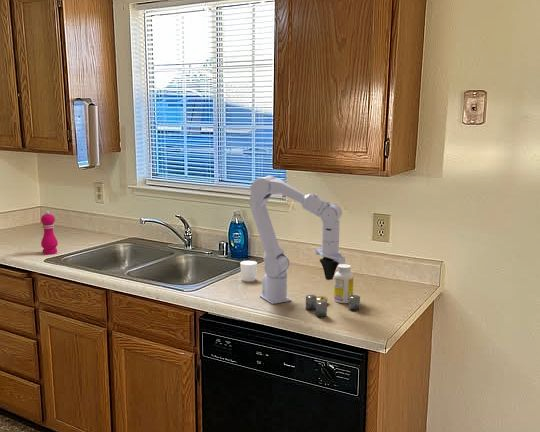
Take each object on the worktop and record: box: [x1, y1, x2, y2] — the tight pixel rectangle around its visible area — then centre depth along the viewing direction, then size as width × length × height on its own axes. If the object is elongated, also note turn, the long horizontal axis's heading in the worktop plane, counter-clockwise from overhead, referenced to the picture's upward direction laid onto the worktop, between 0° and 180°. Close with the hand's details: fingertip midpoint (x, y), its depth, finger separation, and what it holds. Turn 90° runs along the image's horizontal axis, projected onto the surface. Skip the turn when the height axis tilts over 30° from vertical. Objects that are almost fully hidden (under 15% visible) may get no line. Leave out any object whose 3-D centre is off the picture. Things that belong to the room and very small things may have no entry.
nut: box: [316, 295, 328, 303], centre depth 193 cm, size 4×4×2 cm
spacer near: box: [305, 294, 317, 312], centre depth 186 cm, size 4×4×4 cm
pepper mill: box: [40, 210, 59, 256], centre depth 255 cm, size 7×7×20 cm
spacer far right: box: [315, 301, 328, 319], centre depth 180 cm, size 4×4×4 cm
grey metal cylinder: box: [348, 294, 361, 312], centre depth 187 cm, size 4×4×4 cm
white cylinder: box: [239, 260, 258, 283], centre depth 219 cm, size 7×7×7 cm
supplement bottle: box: [333, 263, 354, 304], centre depth 194 cm, size 7×7×13 cm
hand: (329, 279), depth 187 cm, fingers closed
